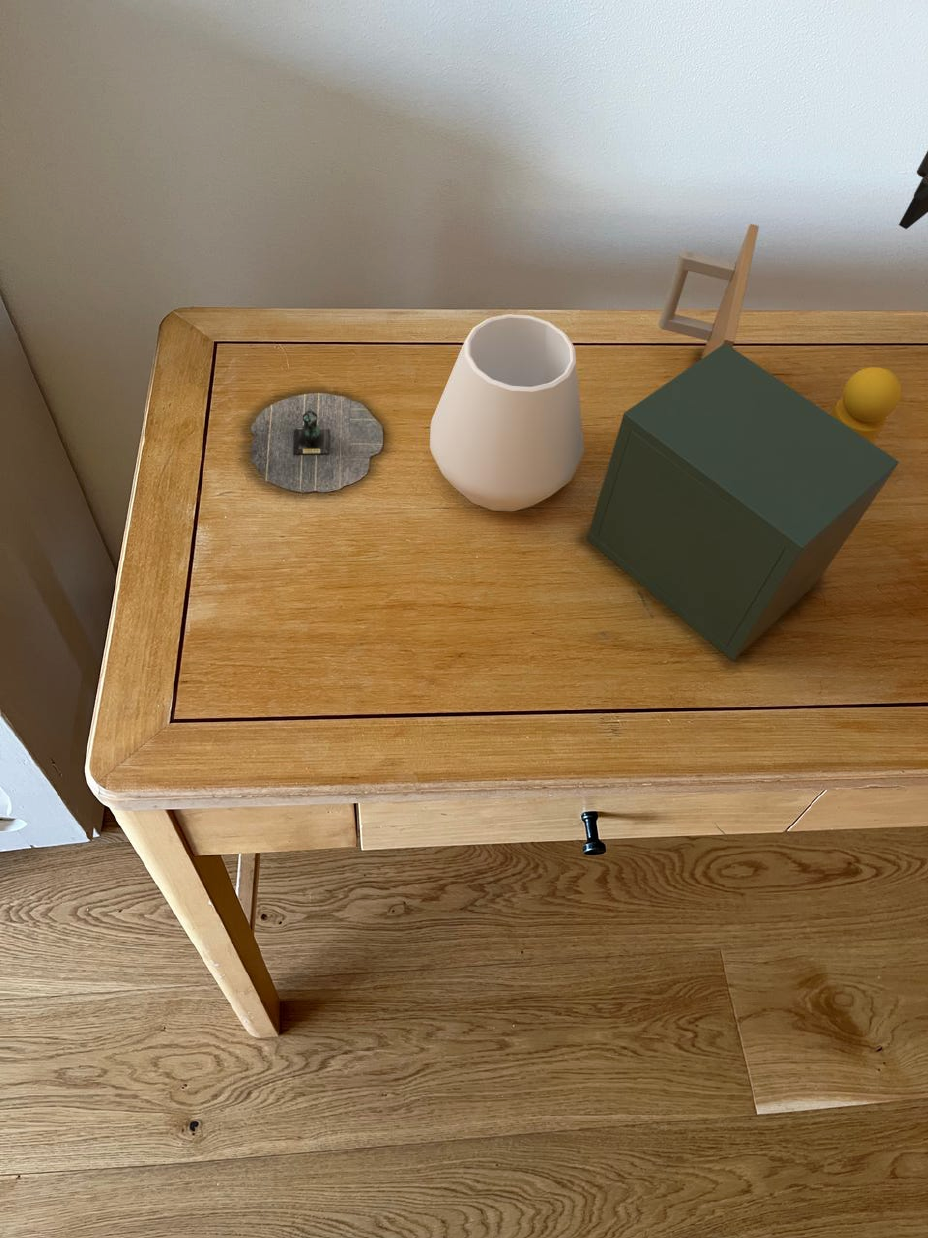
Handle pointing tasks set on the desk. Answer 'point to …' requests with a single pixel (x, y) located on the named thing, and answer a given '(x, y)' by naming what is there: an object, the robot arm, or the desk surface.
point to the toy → (868, 401)
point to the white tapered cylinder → (510, 414)
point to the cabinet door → (731, 301)
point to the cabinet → (732, 496)
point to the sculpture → (315, 442)
